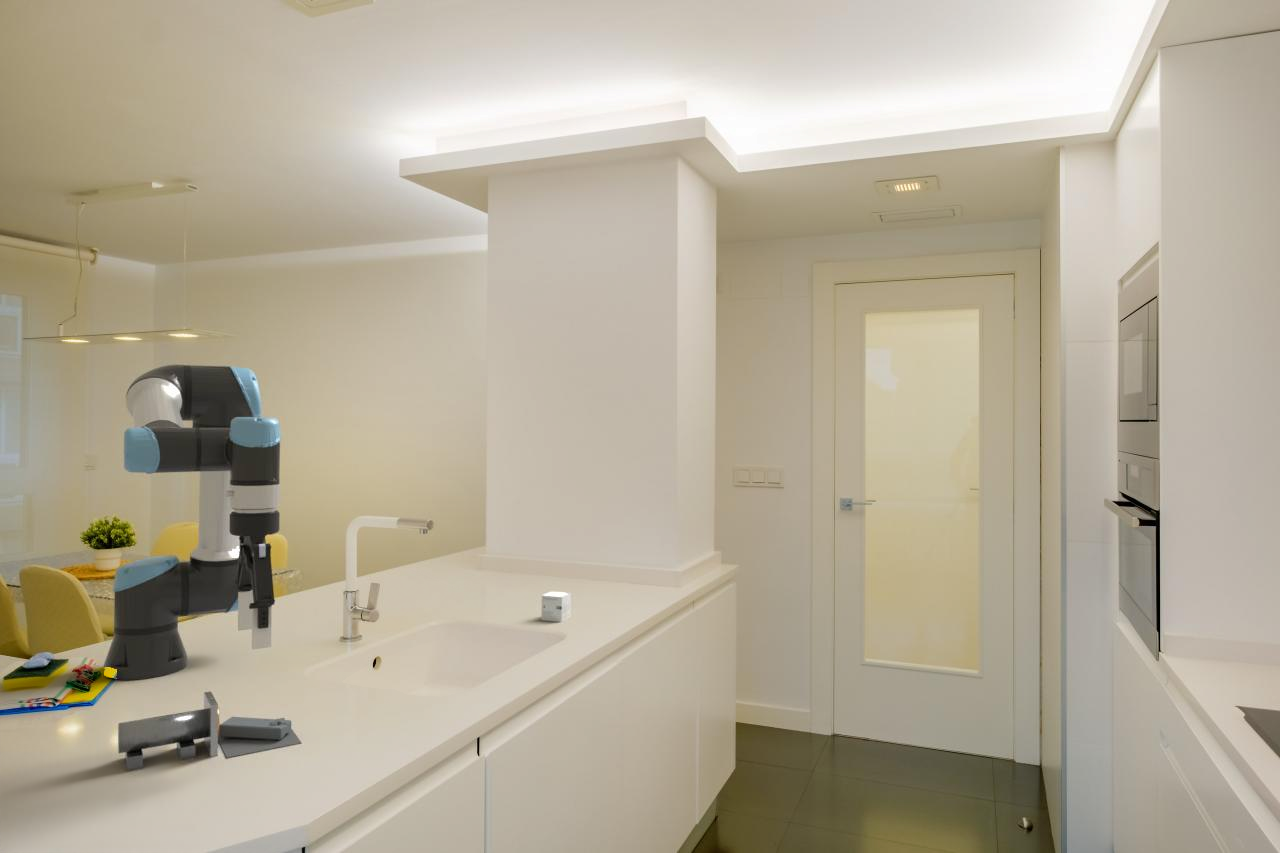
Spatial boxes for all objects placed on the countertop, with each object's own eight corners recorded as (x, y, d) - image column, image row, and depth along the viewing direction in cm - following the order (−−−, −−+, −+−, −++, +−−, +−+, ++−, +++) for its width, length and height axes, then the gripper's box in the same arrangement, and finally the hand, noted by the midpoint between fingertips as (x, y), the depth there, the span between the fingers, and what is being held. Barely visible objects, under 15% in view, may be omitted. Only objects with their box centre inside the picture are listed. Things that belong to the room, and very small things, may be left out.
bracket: (231, 727, 140) (231, 716, 140) (291, 731, 139) (292, 719, 139) (218, 736, 136) (218, 724, 136) (280, 740, 136) (280, 728, 136)
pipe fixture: (117, 757, 129) (117, 705, 129) (213, 739, 137) (213, 690, 137) (119, 775, 123) (119, 720, 123) (220, 755, 130) (220, 704, 130)
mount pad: (214, 731, 141) (214, 730, 141) (283, 718, 147) (283, 717, 147) (226, 758, 129) (226, 757, 129) (301, 743, 135) (301, 742, 135)
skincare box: (540, 622, 221) (541, 595, 221) (550, 617, 226) (550, 590, 226) (561, 624, 219) (562, 596, 219) (571, 619, 224) (571, 592, 224)
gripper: (218, 504, 146) (218, 624, 146) (242, 519, 125) (241, 660, 126) (265, 502, 150) (264, 619, 150) (295, 516, 130) (294, 652, 130)
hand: (253, 638), depth 138 cm, fingers open, 13 cm apart
